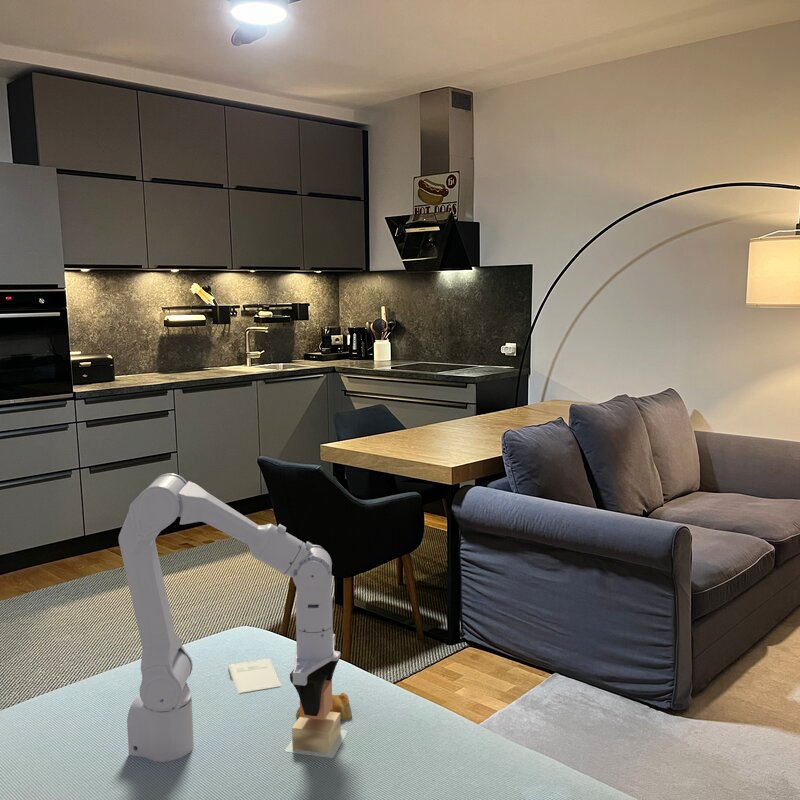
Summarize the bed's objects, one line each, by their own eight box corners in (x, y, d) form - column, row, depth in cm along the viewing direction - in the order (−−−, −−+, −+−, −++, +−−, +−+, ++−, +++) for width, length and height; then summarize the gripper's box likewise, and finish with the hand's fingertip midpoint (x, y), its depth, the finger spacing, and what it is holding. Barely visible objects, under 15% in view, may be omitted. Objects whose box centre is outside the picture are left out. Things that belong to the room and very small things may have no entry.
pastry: (299, 733, 130) (299, 712, 130) (293, 713, 137) (292, 693, 136) (354, 724, 133) (354, 703, 133) (345, 705, 139) (345, 685, 139)
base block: (292, 748, 124) (292, 727, 124) (305, 728, 130) (305, 708, 129) (328, 753, 123) (328, 732, 122) (340, 733, 128) (340, 712, 128)
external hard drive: (237, 701, 142) (228, 671, 153) (282, 694, 144) (270, 665, 156) (237, 693, 141) (228, 663, 153) (282, 685, 144) (270, 657, 156)
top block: (300, 717, 124) (299, 690, 124) (308, 704, 128) (308, 678, 127) (324, 719, 123) (323, 692, 123) (332, 707, 127) (331, 680, 126)
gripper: (323, 647, 116) (325, 734, 118) (352, 610, 130) (353, 688, 132) (278, 643, 117) (281, 728, 119) (311, 606, 131) (313, 683, 133)
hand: (316, 707), depth 125 cm, fingers closed on top block, 4 cm apart
